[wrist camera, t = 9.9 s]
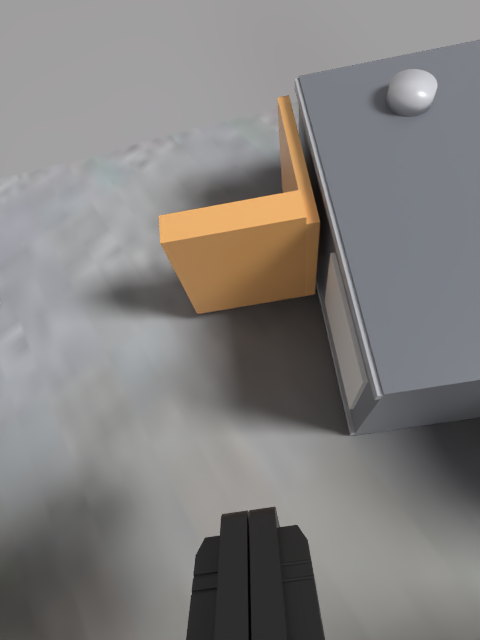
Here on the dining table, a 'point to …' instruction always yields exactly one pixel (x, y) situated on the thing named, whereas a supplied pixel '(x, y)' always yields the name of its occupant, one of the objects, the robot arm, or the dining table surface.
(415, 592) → the dining table surface
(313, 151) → the block
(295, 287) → the orange l-shaped bracket
